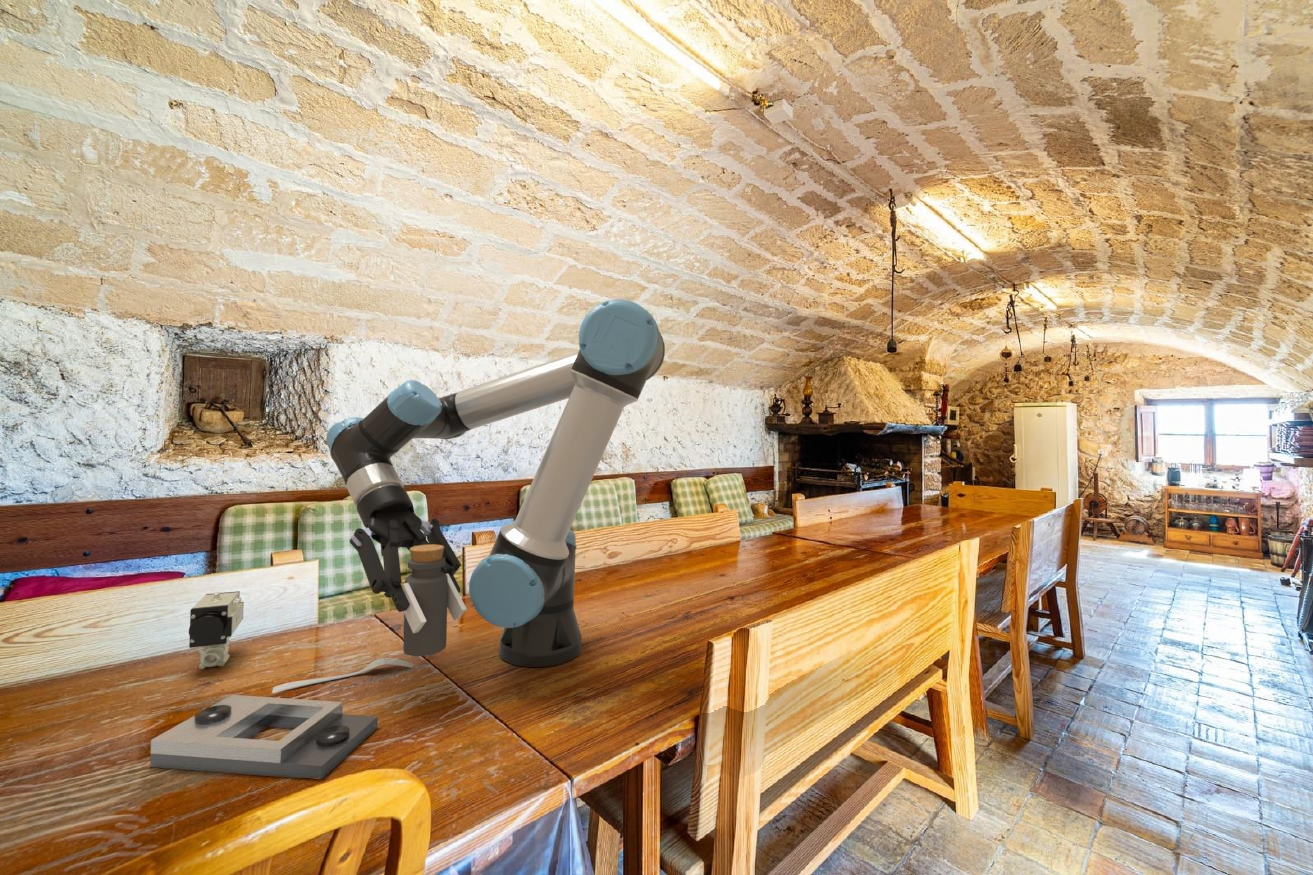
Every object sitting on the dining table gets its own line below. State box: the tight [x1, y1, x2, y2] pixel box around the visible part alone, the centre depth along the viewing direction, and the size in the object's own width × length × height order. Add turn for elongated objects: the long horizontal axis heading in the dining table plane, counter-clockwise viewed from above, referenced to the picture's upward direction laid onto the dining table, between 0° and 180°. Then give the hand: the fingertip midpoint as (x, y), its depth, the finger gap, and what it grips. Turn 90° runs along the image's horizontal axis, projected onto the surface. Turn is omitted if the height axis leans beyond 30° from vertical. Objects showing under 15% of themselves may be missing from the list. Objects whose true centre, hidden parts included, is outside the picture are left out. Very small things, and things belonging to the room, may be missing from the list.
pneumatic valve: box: [188, 590, 244, 670], centre depth 90 cm, size 6×12×12 cm, turn 28°
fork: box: [271, 657, 415, 694], centre depth 87 cm, size 3×21×3 cm, turn 121°
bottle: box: [403, 544, 448, 657], centre depth 78 cm, size 6×6×15 cm
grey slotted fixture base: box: [149, 694, 379, 781], centre depth 67 cm, size 21×11×4 cm, turn 86°
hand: (440, 620), depth 76 cm, fingers closed on bottle, 6 cm apart
